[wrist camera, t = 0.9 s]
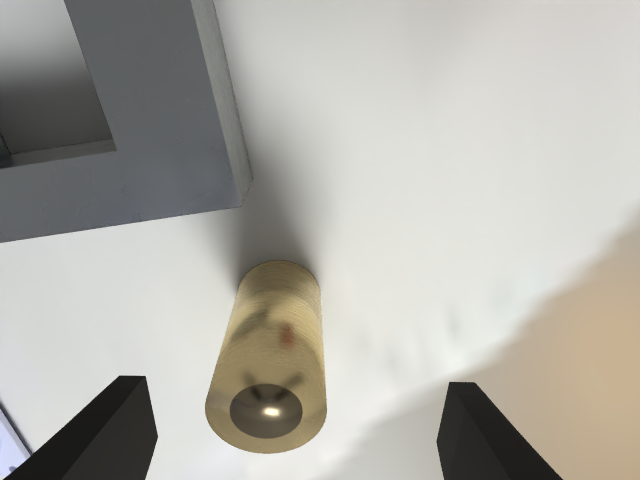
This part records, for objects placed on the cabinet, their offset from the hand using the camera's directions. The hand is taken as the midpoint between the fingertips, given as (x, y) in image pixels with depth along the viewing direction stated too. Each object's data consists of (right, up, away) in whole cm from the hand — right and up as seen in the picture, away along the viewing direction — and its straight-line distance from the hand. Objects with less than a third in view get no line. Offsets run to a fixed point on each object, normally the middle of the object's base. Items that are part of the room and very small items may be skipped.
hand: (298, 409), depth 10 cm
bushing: (-1, +1, +10) cm, 10 cm away
